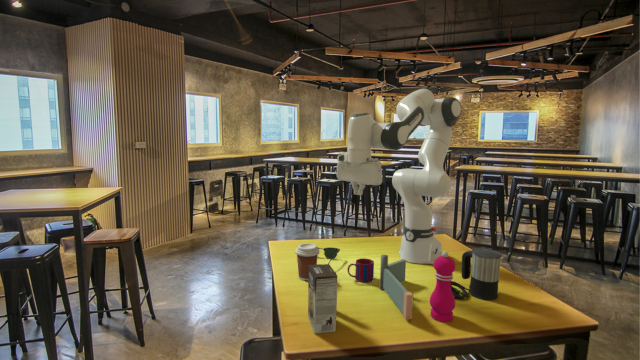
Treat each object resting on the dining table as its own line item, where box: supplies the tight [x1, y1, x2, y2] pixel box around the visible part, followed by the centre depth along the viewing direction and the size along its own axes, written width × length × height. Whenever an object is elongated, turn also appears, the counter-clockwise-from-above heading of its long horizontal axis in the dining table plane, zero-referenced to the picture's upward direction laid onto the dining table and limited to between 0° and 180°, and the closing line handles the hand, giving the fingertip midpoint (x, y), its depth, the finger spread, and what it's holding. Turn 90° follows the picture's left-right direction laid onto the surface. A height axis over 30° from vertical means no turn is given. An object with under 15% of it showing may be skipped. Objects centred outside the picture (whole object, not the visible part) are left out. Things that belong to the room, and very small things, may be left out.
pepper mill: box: [429, 251, 456, 323], centre depth 105 cm, size 7×7×20 cm
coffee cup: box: [294, 243, 320, 281], centre depth 134 cm, size 9×9×12 cm
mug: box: [347, 257, 375, 284], centre depth 132 cm, size 7×10×7 cm
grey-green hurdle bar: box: [383, 268, 414, 320], centre depth 112 cm, size 21×2×7 cm, turn 9°
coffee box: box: [307, 263, 338, 335], centre depth 100 cm, size 9×6×16 cm
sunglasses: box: [296, 246, 341, 265], centre depth 148 cm, size 16×17×5 cm
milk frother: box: [451, 247, 503, 301], centre depth 120 cm, size 14×16×15 cm
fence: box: [334, 254, 407, 291], centre depth 119 cm, size 37×2×12 cm, turn 131°
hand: (358, 194), depth 133 cm, fingers closed
